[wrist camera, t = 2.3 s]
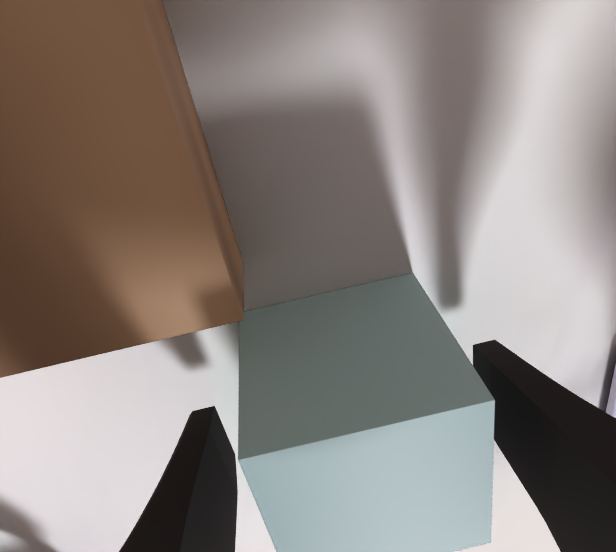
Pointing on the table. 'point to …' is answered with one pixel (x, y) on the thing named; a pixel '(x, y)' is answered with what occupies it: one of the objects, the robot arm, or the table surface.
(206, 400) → the table surface
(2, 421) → the table surface
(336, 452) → the cube
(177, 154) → the slab
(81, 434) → the table surface
